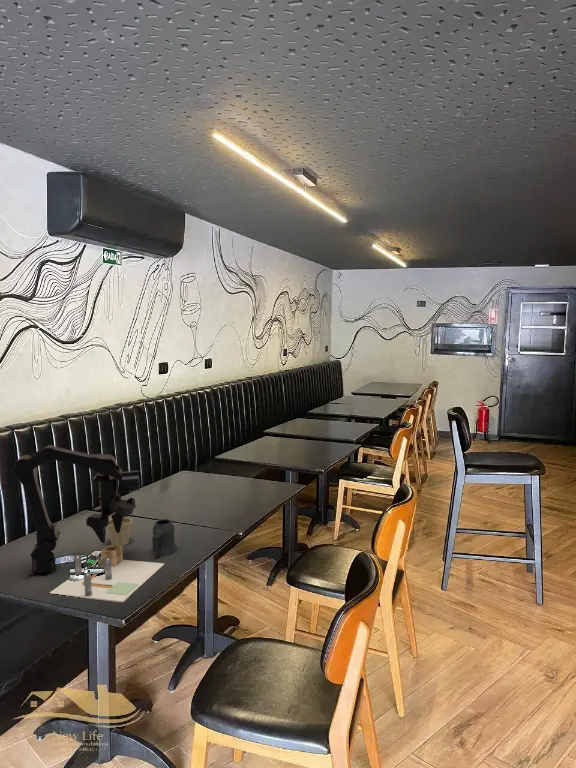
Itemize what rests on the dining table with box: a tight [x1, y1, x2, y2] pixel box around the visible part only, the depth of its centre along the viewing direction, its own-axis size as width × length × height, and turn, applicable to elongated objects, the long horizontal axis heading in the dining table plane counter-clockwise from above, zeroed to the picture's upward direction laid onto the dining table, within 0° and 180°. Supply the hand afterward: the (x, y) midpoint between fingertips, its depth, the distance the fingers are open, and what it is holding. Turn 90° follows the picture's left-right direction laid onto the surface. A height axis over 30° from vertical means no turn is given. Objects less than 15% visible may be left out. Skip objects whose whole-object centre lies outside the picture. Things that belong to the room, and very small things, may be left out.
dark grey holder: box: [151, 518, 178, 557], centre depth 195 cm, size 12×9×11 cm
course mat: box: [49, 559, 165, 604], centre depth 177 cm, size 25×26×1 cm
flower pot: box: [106, 517, 133, 547], centre depth 205 cm, size 9×9×9 cm
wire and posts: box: [73, 554, 113, 596], centre depth 174 cm, size 10×18×6 cm, turn 31°
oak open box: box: [100, 544, 124, 566], centre depth 188 cm, size 5×5×5 cm
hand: (110, 537), depth 187 cm, fingers open, 9 cm apart
